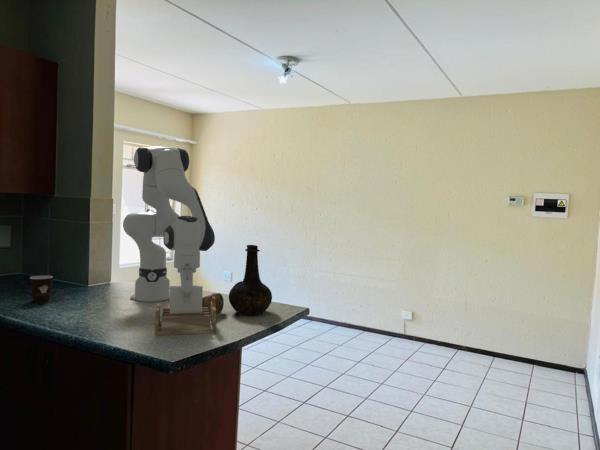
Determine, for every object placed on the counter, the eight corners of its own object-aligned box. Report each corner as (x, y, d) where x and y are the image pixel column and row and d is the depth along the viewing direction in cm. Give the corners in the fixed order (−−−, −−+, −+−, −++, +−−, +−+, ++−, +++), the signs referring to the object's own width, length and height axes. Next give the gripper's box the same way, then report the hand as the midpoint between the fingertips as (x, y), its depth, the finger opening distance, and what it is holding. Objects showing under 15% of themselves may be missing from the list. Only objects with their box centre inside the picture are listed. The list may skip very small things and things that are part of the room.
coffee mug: (54, 297, 198) (54, 275, 197) (50, 302, 190) (50, 278, 189) (24, 298, 194) (24, 275, 194) (19, 303, 186) (19, 279, 185)
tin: (204, 320, 170) (204, 298, 170) (197, 319, 171) (197, 297, 171) (224, 312, 184) (224, 291, 184) (217, 311, 185) (218, 291, 185)
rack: (156, 324, 162) (157, 294, 162) (212, 322, 167) (213, 293, 167) (155, 335, 150) (155, 302, 149) (215, 332, 155) (216, 301, 154)
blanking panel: (169, 314, 158) (170, 286, 157) (201, 313, 161) (202, 285, 160) (169, 315, 156) (170, 287, 155) (201, 314, 159) (202, 286, 158)
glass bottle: (250, 305, 197) (252, 242, 196) (280, 312, 186) (282, 245, 184) (219, 312, 183) (220, 244, 182) (249, 320, 172) (251, 248, 171)
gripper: (197, 266, 148) (196, 308, 149) (195, 258, 168) (194, 295, 169) (177, 266, 146) (176, 308, 147) (177, 258, 166) (177, 295, 167)
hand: (186, 301), depth 158 cm, fingers closed on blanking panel, 2 cm apart
